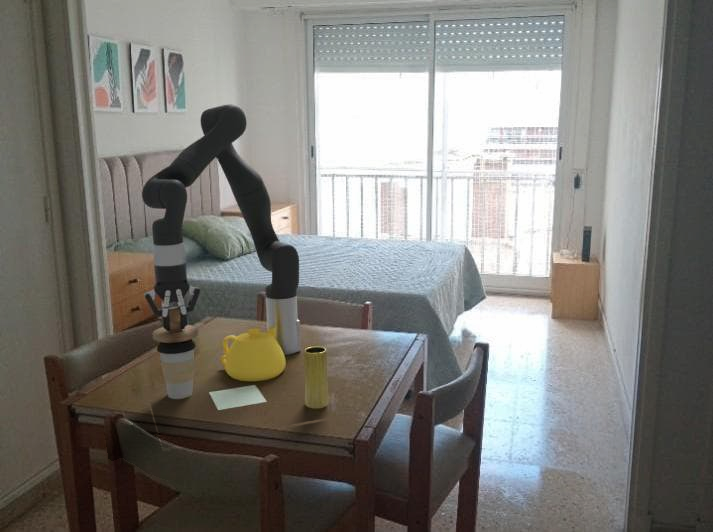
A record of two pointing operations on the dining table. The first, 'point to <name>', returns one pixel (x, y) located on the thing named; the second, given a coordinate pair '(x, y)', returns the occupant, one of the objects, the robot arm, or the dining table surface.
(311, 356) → the vase
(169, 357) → the coffee cup
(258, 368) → the teapot
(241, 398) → the mat
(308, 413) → the dining table surface
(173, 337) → the lid
